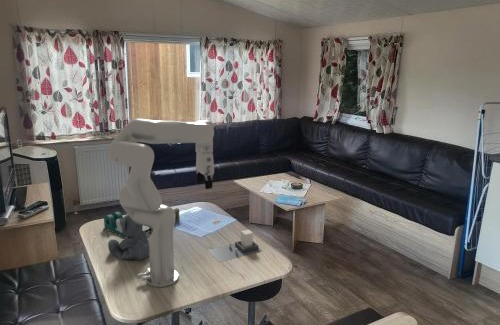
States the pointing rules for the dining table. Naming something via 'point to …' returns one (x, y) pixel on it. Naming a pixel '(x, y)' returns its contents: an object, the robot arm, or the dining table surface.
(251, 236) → the cream rectangular block
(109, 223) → the dark green rounded piece
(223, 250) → the grey base with tray
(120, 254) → the koala plush
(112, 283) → the dining table surface
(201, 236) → the dining table surface
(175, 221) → the handheld radio
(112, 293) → the dining table surface
